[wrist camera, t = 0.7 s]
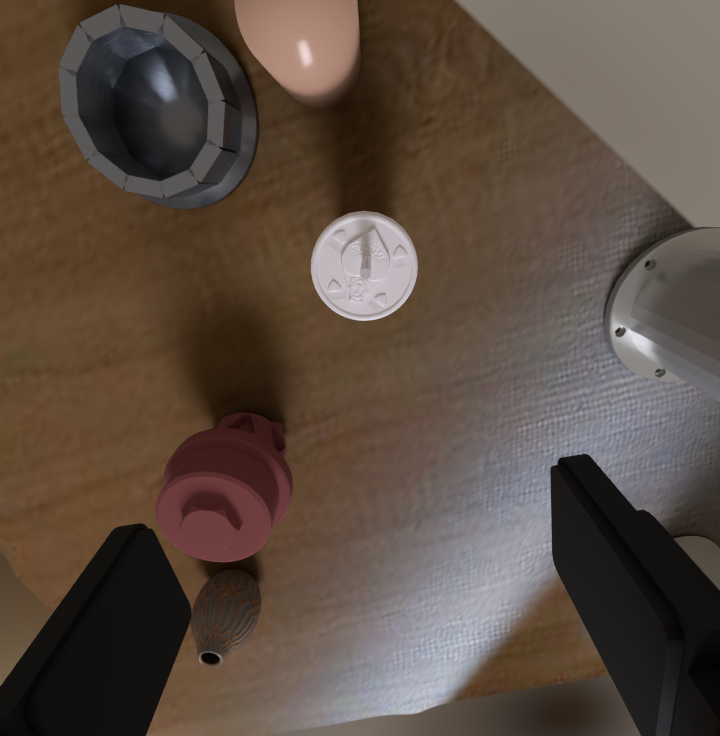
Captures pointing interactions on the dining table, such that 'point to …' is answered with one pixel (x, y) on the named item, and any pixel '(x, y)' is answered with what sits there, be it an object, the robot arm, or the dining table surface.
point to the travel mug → (703, 555)
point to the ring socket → (159, 106)
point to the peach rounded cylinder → (305, 45)
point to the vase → (224, 615)
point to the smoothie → (364, 265)
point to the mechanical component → (226, 489)
